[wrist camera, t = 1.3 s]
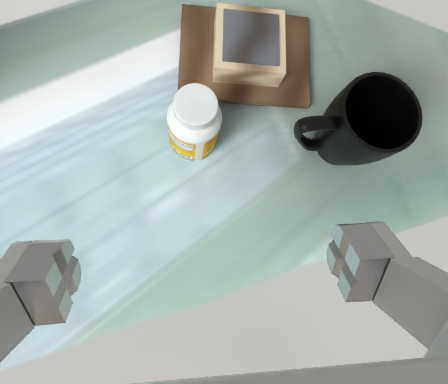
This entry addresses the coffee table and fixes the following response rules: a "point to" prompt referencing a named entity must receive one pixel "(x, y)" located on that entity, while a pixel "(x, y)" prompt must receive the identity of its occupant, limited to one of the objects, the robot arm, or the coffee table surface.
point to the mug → (364, 121)
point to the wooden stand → (246, 54)
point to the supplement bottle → (194, 122)
